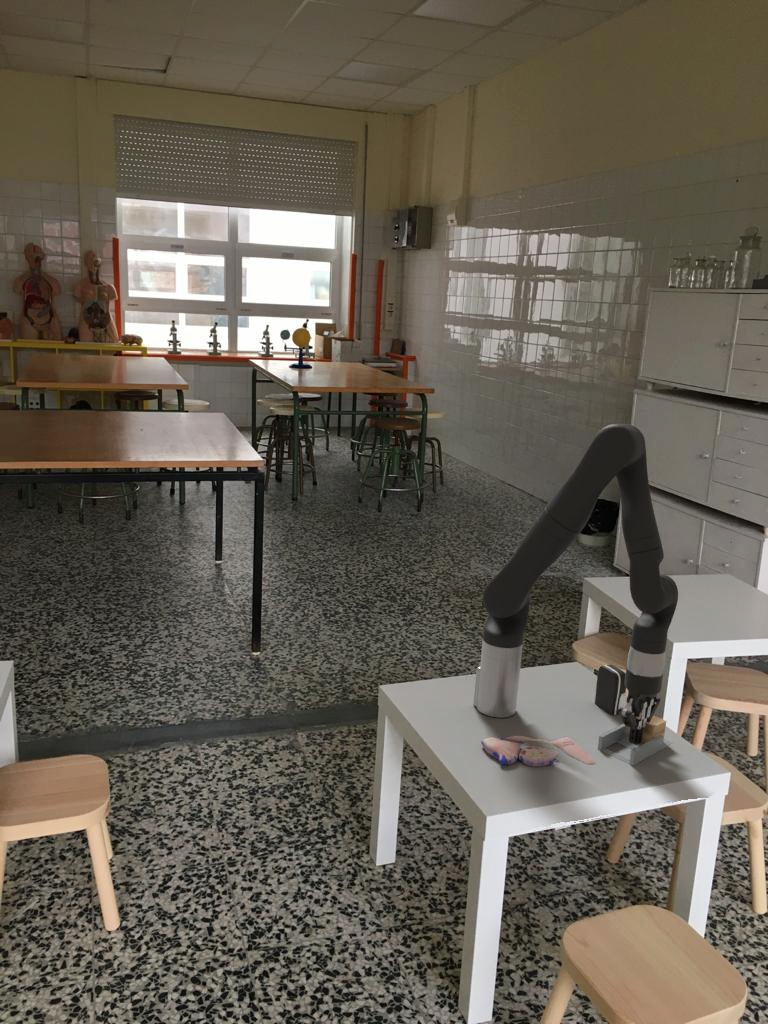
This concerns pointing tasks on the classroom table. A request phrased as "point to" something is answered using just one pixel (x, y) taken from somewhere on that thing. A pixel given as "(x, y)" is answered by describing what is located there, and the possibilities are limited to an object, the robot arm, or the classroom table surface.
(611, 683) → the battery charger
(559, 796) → the classroom table surface
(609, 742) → the channel
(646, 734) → the oak block
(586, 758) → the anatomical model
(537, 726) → the classroom table surface
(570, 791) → the classroom table surface
